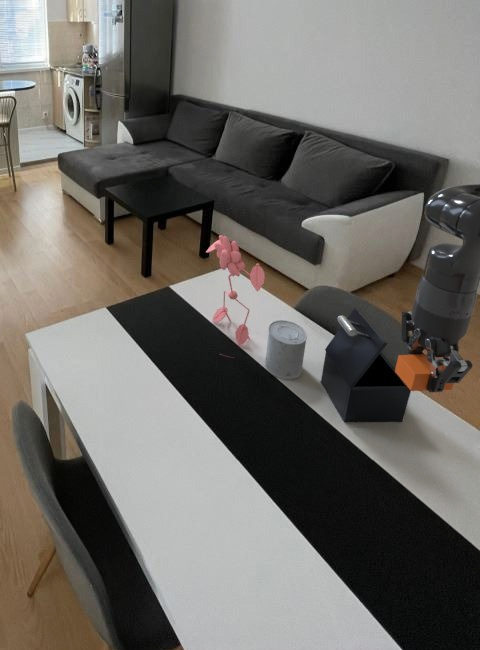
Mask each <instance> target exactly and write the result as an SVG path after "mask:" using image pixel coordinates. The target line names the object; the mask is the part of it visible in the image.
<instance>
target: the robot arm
mask: <svg viewBox="0 0 480 650" xmlns="http://www.w3.org/2000/svg"><path fill="white" fill-rule="evenodd" d="M423 214H424V217H425V219H426V221H427V222H428V223H429V224H430V225H431V226H433V227H434V228H435V229H438V230H440V231H442V232H445V233H447V234H448V235H451V236H454V237H456V238H458V239H460V240H462V244H460V243H455V242H439V243H436V244H433V245H432V246H431V247H430V249H429V250H428V252H427V256H426V259H425V264H424V267H423V272H422V274H421V275H422V276H421V278H420V280H419V283H418V285H417V289H416V293H415V297H414V301H413V306H412V309H411V311H410V310H409V311H402V312H401V341H402V342H403V343H406V344H407V346H406V349H407V351H408V354H407V355H418V354H425V353H424V352H426V354H427V361H428V362H429V363H430V371H431V374H430V376H429V379H428V383H427V386H426V389H427V390H428V391H427V392H429V393H443V392H444V390H443V389H444V386H445V383H454V384H459V383H460V382H461V381H462V380H463V379H464V378H465V377H466V375H467V374H468V373H469V371H471V370H472V368H473V363H472V361H470V359H463V357H462V356H461V354H460V353H459V351H460V346H459V341H460V340H462V338H464V337H465V336H466V335H467V332H468V331H469V330H468V329H469V326H470V323H471V320H472V317H473V313H474V310H475V306H476V303H477V298H478V297H477V296H478V289H479V285H480V183H476V184H475V183H474V184H461V185H452V186H449V187H445V188H443V189H441V190H438V191H437V192H435V193H434V194H432V195H431V196H430V197H429V198H428V199H427V200H426V202H425V204H424V208H423ZM409 332H411V335H409ZM435 357H442V358H435ZM439 366H442V370H438V367H439Z"/></svg>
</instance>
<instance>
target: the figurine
mask: <svg viewBox="0 0 480 650" xmlns="http://www.w3.org/2000/svg"><path fill="white" fill-rule="evenodd" d="M214 251H216V256H217V258H218V259H219V266H220V269H221V270H223V271H226V269H227V271H228V273H229V274H228V282H229V286H230V290H229V291H227V290H223V306H221V307H219V308H218V309H216V311H215V312H214V314H213V316H212V320H211V322H212V321H213V322H212V323H219V322H221V321H222V320H223V319H224V318H225V317H226V318H227V320H228V321H229V322H230V321H231V322H232V319H231V317H230V315H229V314H228V308H227V307H226V304H225V303H226V294H227V296H228V298H229V299H230V300H234V301H236V302H237V303H238V304H239V305H241V306H242V307H244V309H246V310H247V312H246V317H245V320H244V322H243V324H239V325H238V327H237V328H236V330H235V340H236V343H237V344H238V347H241V346H243V345H244V344H245V343H246V342H247V340H251V338H250V336H249V328H248V326H247V325H246V323H247V320H248V318H249V315H250V308H249V307H247V306H245V304H243V303H242V302H241V301H240V300H238V296H239V295H238V292H237V291H235V290H234V289H233V285H232V280H231V277H235V276H236V277H240V276H241V271H242V272H244V273H245V274H247V276H249V278H250V283H251V286H252V287H253V288H254V290H255V291H256V292H259V291H260V290H261V289H262V287H263V285H264V283H265V280H266V276H265V271H264V268H263V267H262V266H260V265H261V264H260V263H256V264H255V265H254V266H253V267H252V269H251V271H250V273H249V272H248V271H247V270H245V269H246V264H245V262H244V261H243V260H242V253H241V252H240V246H239V244H238V241H237V240H233V241H230V239H229V238H228V237H227V236H226V235H222V234H220V235H219V236H218V240H216V241H215V242H213V243H212V244H211V245H210V246H208V249H207V250H206V251H205V253H207V254H208V253H212V252H214ZM220 356H223V357H226V358H229V356H228V355H224V354H221V353H220ZM230 358H231V359H234V357H232V356H230Z"/></svg>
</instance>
